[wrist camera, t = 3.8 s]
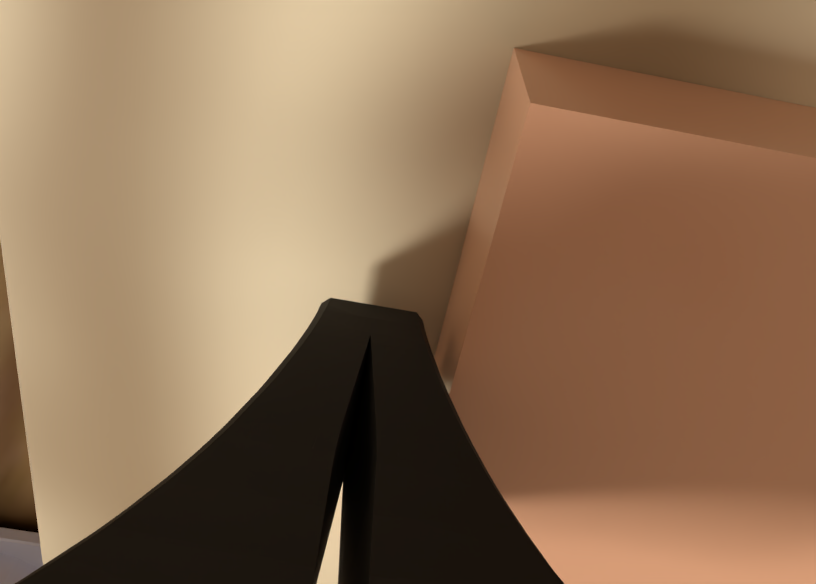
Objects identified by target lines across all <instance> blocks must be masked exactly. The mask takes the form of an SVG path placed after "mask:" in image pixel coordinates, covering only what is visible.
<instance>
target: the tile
mask: <svg viewBox="0 0 816 584" xmlns="http://www.w3.org/2000/svg"><path fill="white" fill-rule="evenodd" d="M434 359H435V362H436V364H437V367H438V369H439V372H440V375H441V377H442V380H443V382H444V384H445V387H446V389H447V392H448V394H449V396H450V398H451V400H452V402H453V405H454V407H455V409H456V411H457V413H458V415H459V418H460V420H461V422H462V424H463V426H464V428H465V430H466V432H467V434H468V436H469V438H470V440H471V442H472V444H473V446H474V448H475V449H476V451H477V453H478V455H479V457H480V458H481V460H482V462H483V464H484V466H485V468H486V469H487V471H488V473H489V475H490V476H491V478H492V480H493V481H494V483H495V485H496V487H497V488H498V490H499V491H500V493H501V495H502V496H503V498H504V500H505V501H506V503H507V504H508V506H509V507H510V509H511V510H512V512H513V513H514V515H515V516H516V518H517V519H518V521H519V522H520V524H521V525H522V527H523V528H524V530H525V532H526V533H527V534H528V536H529V537H530V539H531V540H532V541H533V543H534V544H535V545H536V547H537V548H538V550H539V551H540V552H541V554H542V555H543V557H544V558H545V559H546V561H547V562H548V564H549V565H550V566H551V568H552V569H553V570H554V572H555V573H556V574H557V575H558V577H559V578H560V579H561V580H562V581H563V583H564V584H816V108H814V107H809V106H804V105H799V104H794V103H789V102H784V101H779V100H774V99H769V98H764V97H759V96H754V95H749V94H744V93H739V92H734V91H729V90H724V89H719V88H714V87H709V86H704V85H699V84H694V83H689V82H683V81H678V80H673V79H668V78H663V77H658V76H653V75H648V74H643V73H638V72H633V71H628V70H623V69H618V68H613V67H608V66H603V65H598V64H593V63H588V62H583V61H578V60H573V59H568V58H563V57H558V56H552V55H547V54H542V53H537V52H532V51H527V50H522V49H517V48H513V52H512V56H511V60H510V64H509V68H508V72H507V76H506V80H505V83H504V87H503V91H502V95H501V99H500V103H499V107H498V111H497V115H496V119H495V123H494V126H493V130H492V134H491V138H490V142H489V146H488V150H487V154H486V158H485V162H484V165H483V169H482V173H481V177H480V181H479V185H478V189H477V193H476V197H475V201H474V205H473V208H472V212H471V216H470V220H469V224H468V228H467V232H466V236H465V240H464V244H463V248H462V251H461V255H460V259H459V263H458V267H457V271H456V275H455V279H454V283H453V287H452V291H451V294H450V298H449V302H448V306H447V310H446V314H445V318H444V322H443V326H442V330H441V334H440V337H439V341H438V345H437V349H436V353H435V357H434Z"/></svg>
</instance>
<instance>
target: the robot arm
mask: <svg viewBox="0 0 816 584" xmlns="http://www.w3.org/2000/svg"><path fill="white" fill-rule="evenodd" d="M342 483H343V489H342V509H341V529H340V550H339V571H338V584H564V583H563V581H562V580H561V579H560V578H559V577H558V575H557V574H556V573H555V572H554V570H553V569H552V568H551V566H550V565H549V564H548V562H547V561H546V559H545V558H544V557H543V555H542V554H541V552H540V551H539V550H538V548H537V547H536V545H535V544H534V543H533V541H532V540H531V539H530V537H529V536H528V534H527V533H526V532H525V530H524V528H523V527H522V525H521V524H520V522H519V521H518V519H517V518H516V516H515V515H514V513H513V512H512V510H511V509H510V507H509V506H508V504H507V503H506V501H505V500H504V498H503V496H502V495H501V493H500V491H499V490H498V488H497V487H496V485H495V483H494V481H493V480H492V478H491V476H490V475H489V473H488V471H487V469H486V468H485V466H484V464H483V462H482V460H481V458H480V457H479V455H478V453H477V451H476V449H475V448H474V446H473V444H472V442H471V440H470V438H469V436H468V434H467V432H466V430H465V428H464V426H463V424H462V422H461V420H460V418H459V415H458V413H457V411H456V409H455V407H454V405H453V402H452V400H451V398H450V396H449V394H448V392H447V389H446V387H445V384H444V382H443V380H442V377H441V375H440V372H439V369H438V367H437V364H436V362H435V359H434V356H433V353H432V351H431V348H430V345H429V341H428V338H427V335H426V331H425V328H424V323H423V320H422V319H421V317H420V316H419V315H418V313H417V312H412V311H406V310H400V309H395V308H389V307H383V306H377V305H371V304H365V303H359V302H353V301H347V300H341V299H336V298H329V299H327V300H326V301H324V302H322V303H321V305H320V307H319V309H318V311H317V313H316V315H315V317H314V318H313V320H312V322H311V323H310V325H309V326H308V328H307V329H306V331H305V332H304V334H303V335H302V337H301V338H300V339H299V341H298V342H297V344H296V345H295V346H294V348H293V349H292V350H291V352H290V353H289V354H288V355H287V357H286V358H285V359H284V360H283V361H282V363H281V364H280V365H279V366H278V368H277V369H276V370H275V371H274V372H273V374H272V375H271V376H270V377H269V379H268V380H267V381H266V382H265V383H264V384H263V386H262V387H261V388H260V389H259V390H258V391H257V392H256V393H255V394H254V395H253V396H252V397H251V398H250V400H249V401H248V402H247V403H246V404H245V405H244V406H243V407H242V408H241V409H240V410H239V411H238V412H237V413H236V414H235V415H234V416H233V417H232V418H231V419H230V420H229V421H228V423H227V424H226V425H225V426H224V427H223V428H222V429H220V430H219V431H218V432H217V433H216V434H215V435H214V436H213V437H212V438H211V439H210V440H209V441H208V442H207V443H206V444H205V445H203V446H202V447H201V448H200V449H199V450H198V451H197V452H196V453H195V454H193V455H192V456H191V457H190V458H189V459H188V460H186V461H185V462H184V463H183V464H182V465H181V466H180V467H178V468H177V469H176V470H175V471H174V472H173V473H171V474H170V475H169V476H168V477H167V478H165V479H164V480H163V481H161V482H160V483H159V484H158V485H156V486H155V487H154V488H152V489H151V490H150V491H149V492H147V493H146V494H145V495H143V496H142V497H141V498H140V499H138V500H137V501H136V502H135V503H133V504H132V505H131V506H129V507H128V508H127V509H125V510H124V511H123V512H121V513H120V514H119V515H117V516H116V517H115V518H113V519H112V520H110V521H109V522H108V523H106V524H105V525H103V526H102V527H101V528H99V529H98V530H96V531H95V532H93V533H92V534H90V535H89V536H87V537H86V538H84V539H83V540H81V541H80V542H78V543H77V544H75V545H73V546H72V547H70V548H69V549H67V550H66V551H64V552H63V553H61V554H60V555H58V556H57V557H55V558H54V559H52V560H51V561H49V562H47V563H46V564H44V565H43V561H42V554H41V546H40V538H39V533H36V532H29V531H23V530H16V529H9V528H2V527H0V584H317V580H318V576H319V572H320V568H321V564H322V561H323V557H324V553H325V549H326V545H327V541H328V537H329V533H330V530H331V526H332V522H333V518H334V514H335V510H336V506H337V502H338V499H339V495H340V491H341V487H342Z"/></svg>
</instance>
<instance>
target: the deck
mask: <svg viewBox="0 0 816 584" xmlns="http://www.w3.org/2000/svg"><path fill="white" fill-rule="evenodd" d="M513 48H517V49H522V50H527V51H532V52H537V53H542V54H547V55H552V56H558V57H563V58H568V59H573V60H578V61H583V62H588V63H593V64H598V65H603V66H608V67H613V68H618V69H623V70H628V71H633V72H638V73H643V74H648V75H653V76H658V77H663V78H668V79H673V80H678V81H683V82H689V83H694V84H699V85H704V86H709V87H714V88H719V89H724V90H729V91H734V92H739V93H744V94H749V95H754V96H759V97H764V98H769V99H774V100H779V101H784V102H789V103H794V104H799V105H804V106H809V107H814V108H816V0H0V240H1V247H2V255H3V263H4V270H5V278H6V286H7V293H8V301H9V309H10V316H11V324H12V332H13V339H14V347H15V354H16V362H17V370H18V377H19V385H20V393H21V400H22V408H23V416H24V423H25V431H26V439H27V446H28V454H29V462H30V469H31V477H32V485H33V492H34V500H35V508H36V515H37V523H38V531H39V538H40V546H41V554H42V561H43V565H44V564H46V563H47V562H49V561H51V560H52V559H54V558H55V557H57V556H58V555H60V554H61V553H63V552H64V551H66V550H67V549H69V548H70V547H72V546H73V545H75V544H77V543H78V542H80V541H81V540H83V539H84V538H86V537H87V536H89V535H90V534H92V533H93V532H95V531H96V530H98V529H99V528H101V527H102V526H103V525H105V524H106V523H108V522H109V521H110V520H112V519H113V518H115V517H116V516H117V515H119V514H120V513H121V512H123V511H124V510H125V509H127V508H128V507H129V506H131V505H132V504H133V503H135V502H136V501H137V500H138V499H140V498H141V497H142V496H143V495H145V494H146V493H147V492H149V491H150V490H151V489H152V488H154V487H155V486H156V485H158V484H159V483H160V482H161V481H163V480H164V479H165V478H167V477H168V476H169V475H170V474H171V473H173V472H174V471H175V470H176V469H177V468H178V467H180V466H181V465H182V464H183V463H184V462H185V461H186V460H188V459H189V458H190V457H191V456H192V455H193V454H195V453H196V452H197V451H198V450H199V449H200V448H201V447H202V446H203V445H205V444H206V443H207V442H208V441H209V440H210V439H211V438H212V437H213V436H214V435H215V434H216V433H217V432H218V431H219V430H220V429H222V428H223V427H224V426H225V425H226V424H227V423H228V421H229V420H230V419H231V418H232V417H233V416H234V415H235V414H236V413H237V412H238V411H239V410H240V409H241V408H242V407H243V406H244V405H245V404H246V403H247V402H248V401H249V400H250V398H251V397H252V396H253V395H254V394H255V393H256V392H257V391H258V390H259V389H260V388H261V387H262V386H263V384H264V383H265V382H266V381H267V380H268V379H269V377H270V376H271V375H272V374H273V372H274V371H275V370H276V369H277V368H278V366H279V365H280V364H281V363H282V361H283V360H284V359H285V358H286V357H287V355H288V354H289V353H290V352H291V350H292V349H293V348H294V346H295V345H296V344H297V342H298V341H299V339H300V338H301V337H302V335H303V334H304V332H305V331H306V329H307V328H308V326H309V325H310V323H311V322H312V320H313V318H314V317H315V315H316V313H317V311H318V309H319V307H320V305H321V303H322V302H324V301H326V300H327V299H329V298H336V299H341V300H347V301H353V302H359V303H365V304H371V305H377V306H383V307H389V308H395V309H400V310H406V311H412V312H417V313H418V315H419V316H420V317H421V319H422V320H423V323H424V328H425V331H426V335H427V338H428V341H429V345H430V348H431V351H432V353H433V356H434V357H435V353H436V349H437V345H438V341H439V337H440V334H441V330H442V326H443V322H444V318H445V314H446V310H447V306H448V302H449V298H450V294H451V291H452V287H453V283H454V279H455V275H456V271H457V267H458V263H459V259H460V255H461V251H462V248H463V244H464V240H465V236H466V232H467V228H468V224H469V220H470V216H471V212H472V208H473V205H474V201H475V197H476V193H477V189H478V185H479V181H480V177H481V173H482V169H483V165H484V162H485V158H486V154H487V150H488V146H489V142H490V138H491V134H492V130H493V126H494V123H495V119H496V115H497V111H498V107H499V103H500V99H501V95H502V91H503V87H504V83H505V80H506V76H507V72H508V68H509V64H510V60H511V56H512V52H513ZM342 489H343V483H342V487H341V491H340V495H339V499H338V502H337V506H336V510H335V514H334V518H333V522H332V526H331V530H330V533H329V537H328V541H327V545H326V549H325V553H324V557H323V561H322V564H321V568H320V572H319V576H318V580H317V584H338V571H339V550H340V529H341V509H342Z"/></svg>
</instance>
